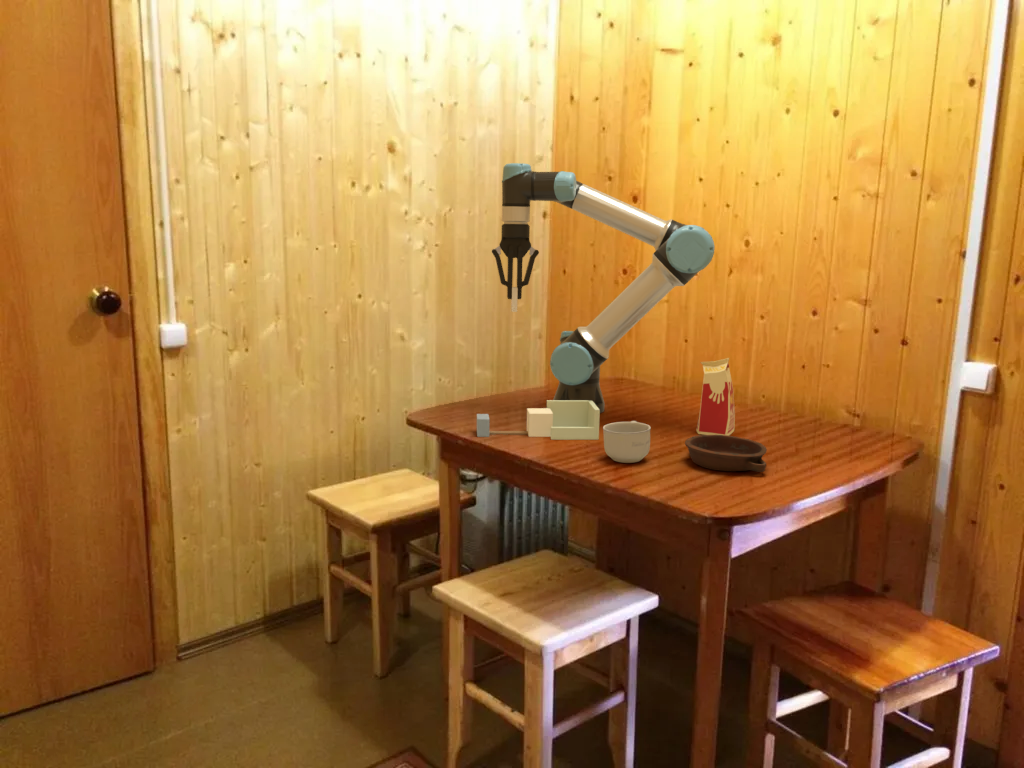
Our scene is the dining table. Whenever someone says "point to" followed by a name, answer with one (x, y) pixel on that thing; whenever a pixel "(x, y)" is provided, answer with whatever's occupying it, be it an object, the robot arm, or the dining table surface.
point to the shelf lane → (574, 419)
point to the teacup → (627, 441)
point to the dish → (726, 453)
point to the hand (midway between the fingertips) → (514, 311)
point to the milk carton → (716, 400)
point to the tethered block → (536, 424)
